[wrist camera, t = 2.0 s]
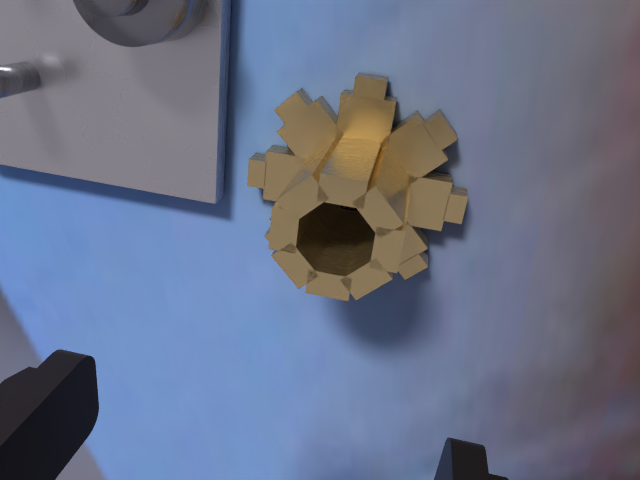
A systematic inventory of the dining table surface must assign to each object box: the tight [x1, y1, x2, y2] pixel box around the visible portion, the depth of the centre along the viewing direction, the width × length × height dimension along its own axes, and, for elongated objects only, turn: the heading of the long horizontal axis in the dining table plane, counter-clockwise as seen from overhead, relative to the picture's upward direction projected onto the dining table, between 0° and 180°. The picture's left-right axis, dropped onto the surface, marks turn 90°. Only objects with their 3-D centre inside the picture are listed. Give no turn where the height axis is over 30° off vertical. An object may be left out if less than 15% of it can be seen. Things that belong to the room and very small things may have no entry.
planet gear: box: [247, 73, 468, 301], centre depth 24 cm, size 11×11×7 cm
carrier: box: [0, 0, 231, 204], centre depth 24 cm, size 14×14×6 cm
